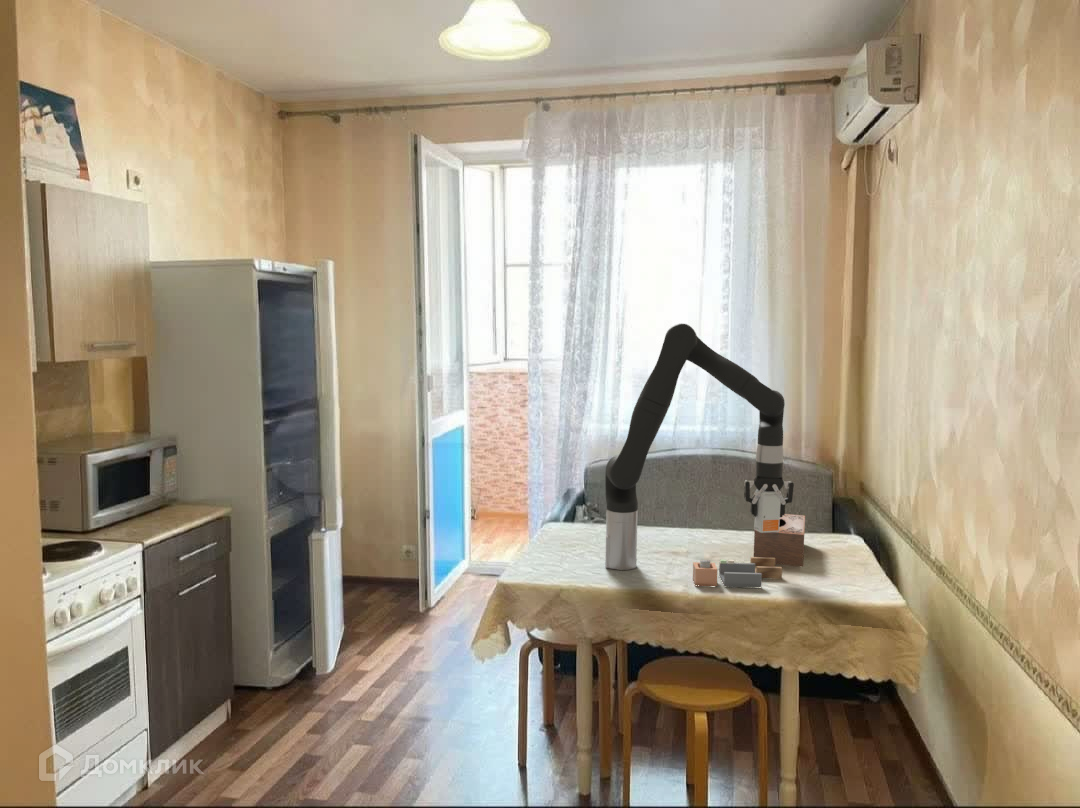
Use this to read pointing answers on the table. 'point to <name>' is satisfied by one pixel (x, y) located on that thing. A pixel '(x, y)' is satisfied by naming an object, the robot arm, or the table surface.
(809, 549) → the table surface
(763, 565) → the trough
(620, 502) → the robot arm
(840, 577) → the table surface
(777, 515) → the skincare box
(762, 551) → the tissue box cover
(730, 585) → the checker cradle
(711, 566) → the cup
